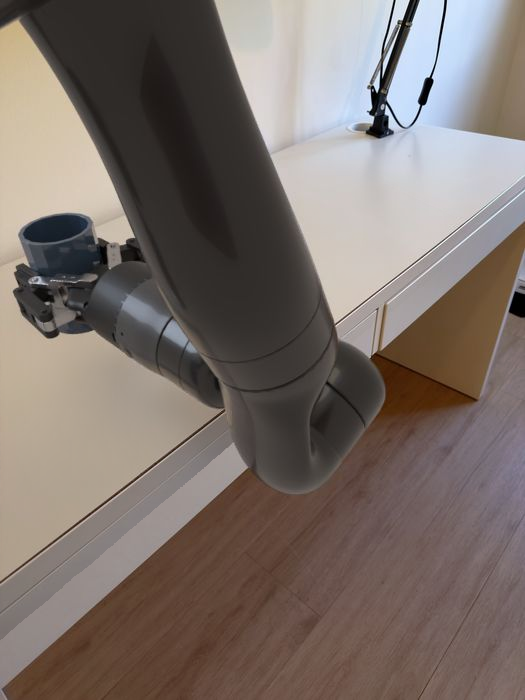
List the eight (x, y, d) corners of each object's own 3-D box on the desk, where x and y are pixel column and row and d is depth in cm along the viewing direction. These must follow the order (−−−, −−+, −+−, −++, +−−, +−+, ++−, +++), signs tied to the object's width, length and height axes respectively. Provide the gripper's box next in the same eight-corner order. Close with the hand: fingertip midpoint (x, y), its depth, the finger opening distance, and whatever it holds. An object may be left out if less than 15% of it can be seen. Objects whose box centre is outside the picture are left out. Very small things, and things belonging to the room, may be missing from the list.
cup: (58, 342, 52) (25, 251, 46) (44, 310, 57) (12, 223, 50) (123, 320, 54) (100, 232, 48) (105, 291, 59) (82, 207, 53)
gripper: (215, 247, 45) (107, 199, 55) (67, 322, 38) (-30, 252, 47) (223, 318, 50) (122, 263, 59) (93, 398, 42) (0, 320, 51)
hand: (56, 258), depth 53 cm, fingers closed on cup, 7 cm apart
